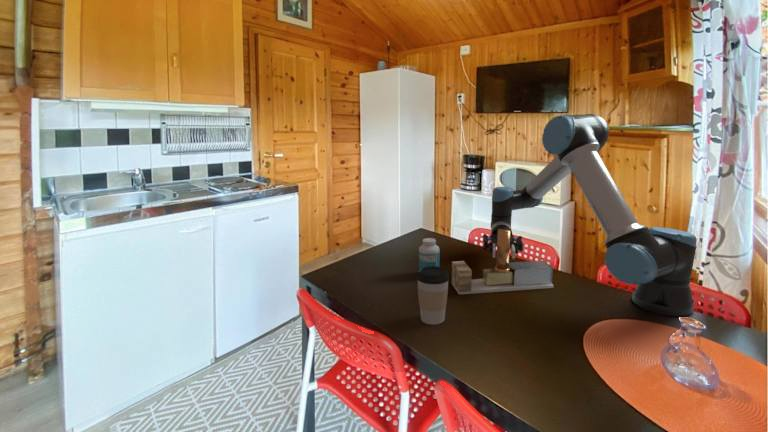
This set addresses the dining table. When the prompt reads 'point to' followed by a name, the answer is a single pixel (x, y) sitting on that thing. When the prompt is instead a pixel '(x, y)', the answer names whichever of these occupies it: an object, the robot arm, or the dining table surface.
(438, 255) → the pill bottle
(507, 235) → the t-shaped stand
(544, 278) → the sleeve
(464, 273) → the socket
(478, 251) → the dining table surface
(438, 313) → the coffee cup
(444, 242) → the dining table surface
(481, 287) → the bed
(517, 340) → the dining table surface
